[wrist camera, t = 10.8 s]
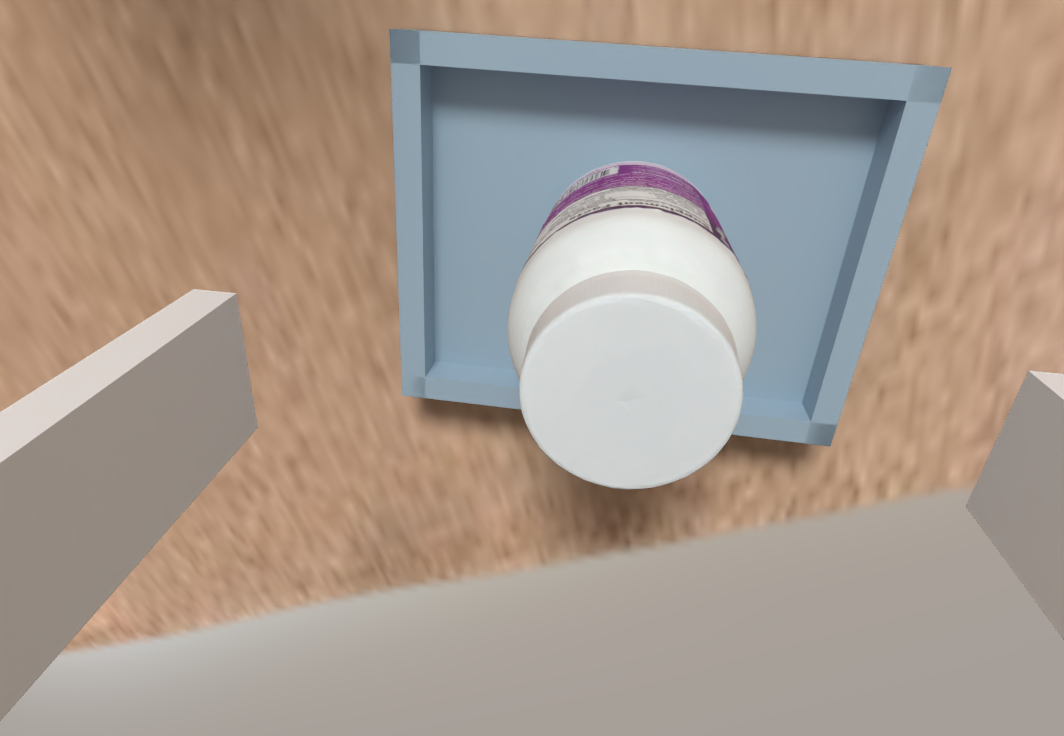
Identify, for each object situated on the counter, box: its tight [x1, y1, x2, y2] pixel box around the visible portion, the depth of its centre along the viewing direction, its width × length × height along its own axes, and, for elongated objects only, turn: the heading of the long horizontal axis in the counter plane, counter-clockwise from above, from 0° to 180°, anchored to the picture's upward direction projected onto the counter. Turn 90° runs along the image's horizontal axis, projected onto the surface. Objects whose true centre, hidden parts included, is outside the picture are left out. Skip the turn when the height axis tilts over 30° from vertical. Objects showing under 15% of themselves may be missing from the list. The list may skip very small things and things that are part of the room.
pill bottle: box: [507, 161, 756, 489], centre depth 16 cm, size 5×5×10 cm
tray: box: [390, 29, 952, 446], centre depth 20 cm, size 14×11×2 cm
